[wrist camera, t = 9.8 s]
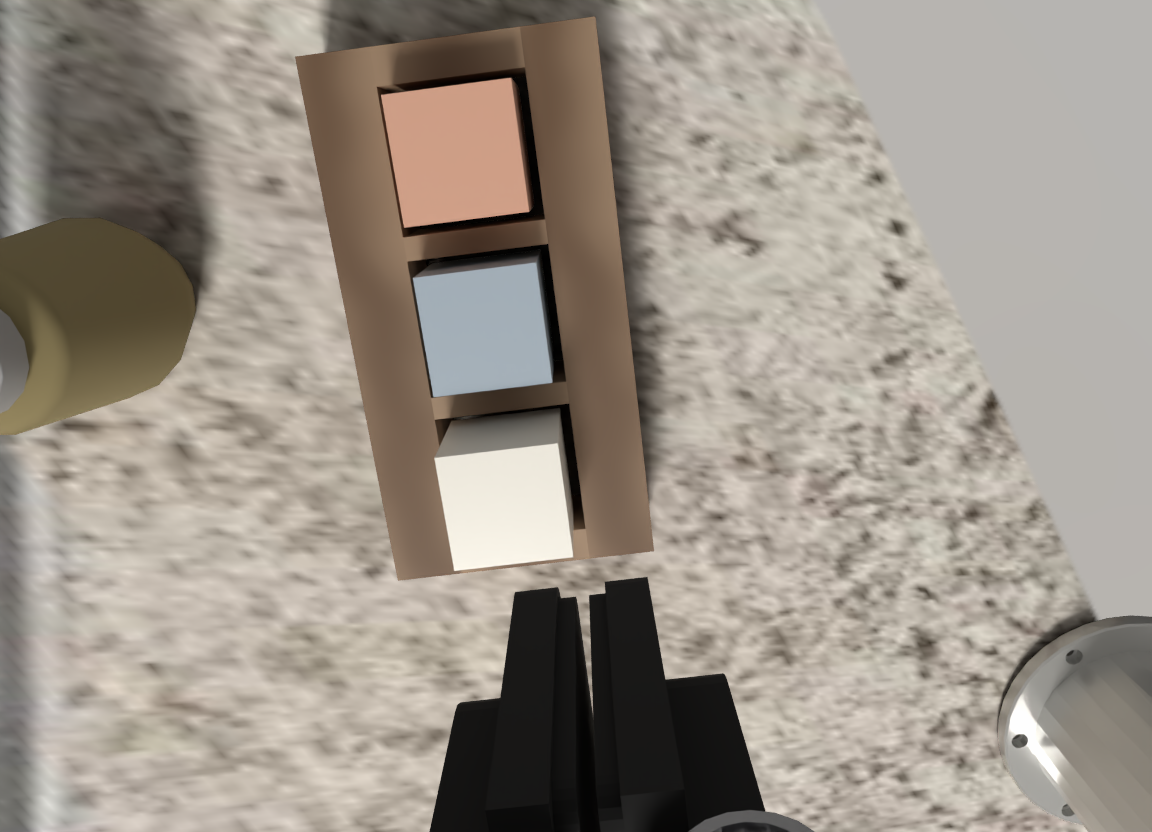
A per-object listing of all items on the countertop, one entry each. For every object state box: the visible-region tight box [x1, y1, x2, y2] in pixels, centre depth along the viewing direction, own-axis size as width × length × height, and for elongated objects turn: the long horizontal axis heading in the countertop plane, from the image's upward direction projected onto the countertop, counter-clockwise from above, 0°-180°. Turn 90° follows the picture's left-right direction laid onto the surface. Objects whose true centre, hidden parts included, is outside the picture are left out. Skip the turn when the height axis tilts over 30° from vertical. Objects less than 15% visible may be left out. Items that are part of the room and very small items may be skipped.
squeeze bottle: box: [0, 218, 196, 435], centre depth 34 cm, size 8×8×18 cm
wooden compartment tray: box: [295, 17, 654, 581], centre depth 41 cm, size 12×23×4 cm, turn 7°
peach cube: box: [381, 78, 535, 228], centre depth 38 cm, size 5×5×5 cm
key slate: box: [413, 249, 555, 397], centre depth 40 cm, size 5×5×5 cm
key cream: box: [434, 408, 573, 571], centre depth 40 cm, size 5×5×5 cm
